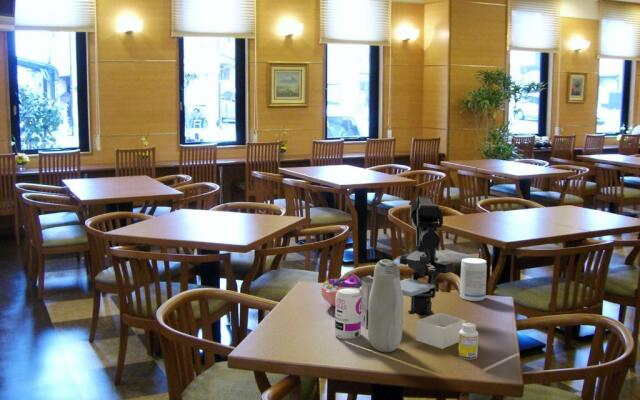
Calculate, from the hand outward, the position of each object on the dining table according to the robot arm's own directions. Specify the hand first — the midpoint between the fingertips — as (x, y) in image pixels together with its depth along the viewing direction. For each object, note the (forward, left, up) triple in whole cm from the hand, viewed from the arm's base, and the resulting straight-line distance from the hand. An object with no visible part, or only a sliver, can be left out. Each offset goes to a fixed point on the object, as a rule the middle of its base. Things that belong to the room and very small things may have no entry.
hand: (425, 288), depth 240 cm
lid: (0, -6, +1) cm, 6 cm away
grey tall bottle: (+6, -28, -13) cm, 31 cm away
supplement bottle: (+26, -14, -13) cm, 33 cm away
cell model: (-32, -4, -13) cm, 35 cm away
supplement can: (-10, -27, -13) cm, 32 cm away
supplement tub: (-7, +40, -13) cm, 43 cm away
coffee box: (-11, -12, -13) cm, 21 cm away
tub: (+13, -9, -13) cm, 20 cm away
